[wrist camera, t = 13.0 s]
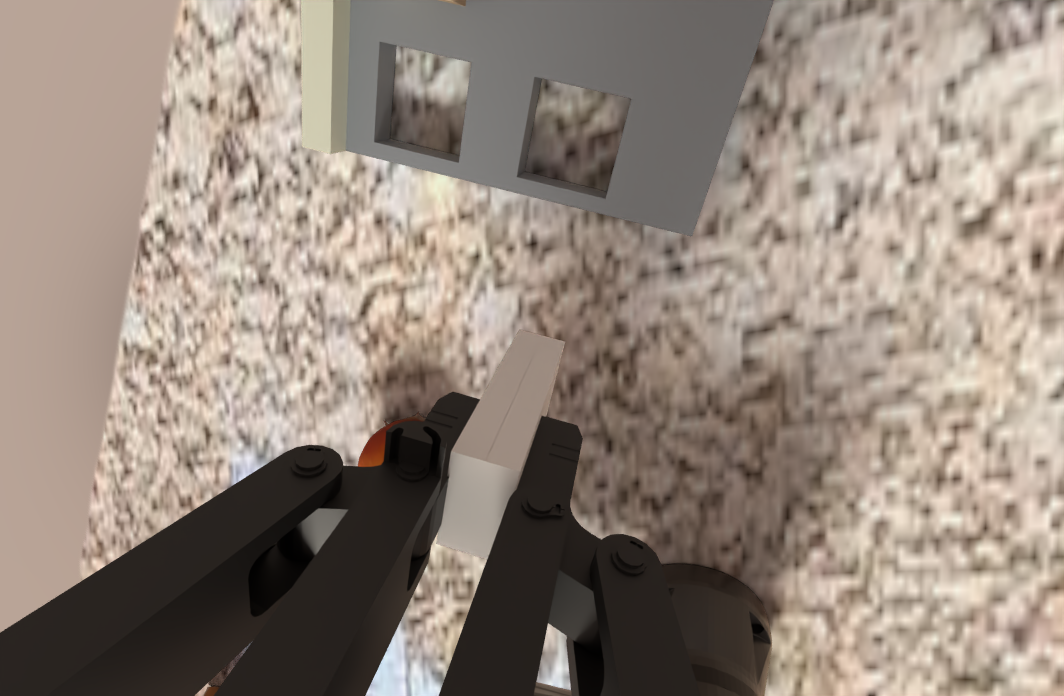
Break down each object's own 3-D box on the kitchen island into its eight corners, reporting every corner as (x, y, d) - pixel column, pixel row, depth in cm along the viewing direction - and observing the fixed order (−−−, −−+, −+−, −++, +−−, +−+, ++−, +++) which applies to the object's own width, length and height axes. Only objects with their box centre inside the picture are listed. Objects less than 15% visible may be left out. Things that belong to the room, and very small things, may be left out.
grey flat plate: (786, -56, 29) (806, -78, 25) (689, 227, 37) (694, 244, 33) (344, -143, 32) (300, -175, 28) (337, 140, 39) (302, 147, 35)
